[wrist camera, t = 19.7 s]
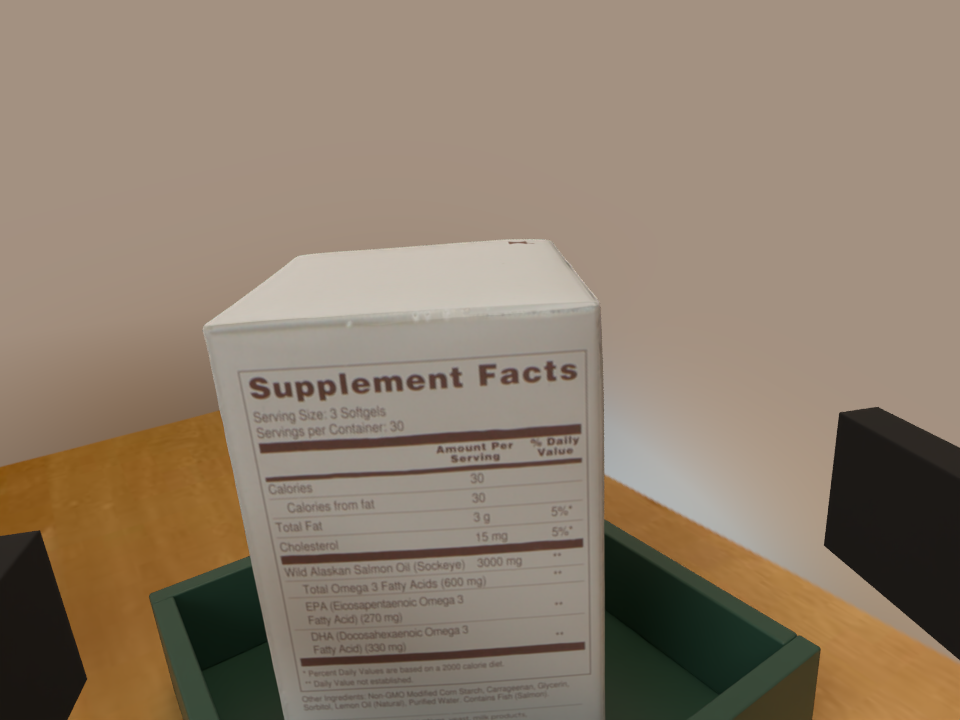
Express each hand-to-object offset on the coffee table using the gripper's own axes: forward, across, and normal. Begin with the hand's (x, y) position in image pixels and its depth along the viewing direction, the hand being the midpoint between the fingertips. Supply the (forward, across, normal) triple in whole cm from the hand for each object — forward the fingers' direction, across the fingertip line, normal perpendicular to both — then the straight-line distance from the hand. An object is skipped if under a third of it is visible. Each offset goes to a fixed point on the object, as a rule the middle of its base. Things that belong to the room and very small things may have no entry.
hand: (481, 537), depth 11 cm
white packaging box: (+6, 0, -9) cm, 11 cm away
